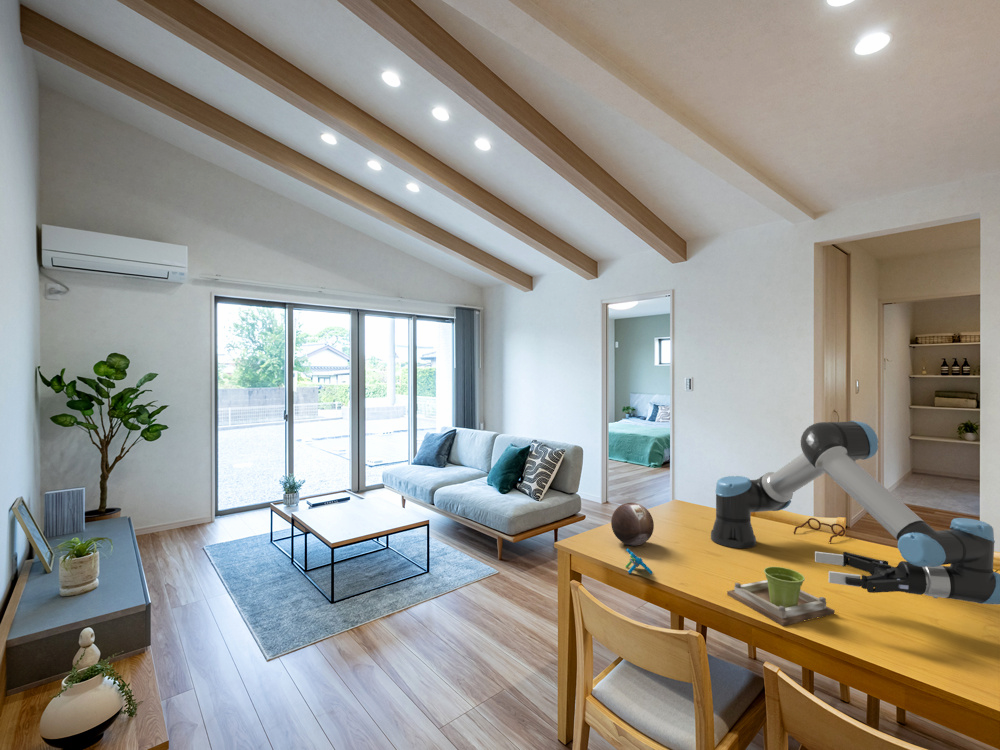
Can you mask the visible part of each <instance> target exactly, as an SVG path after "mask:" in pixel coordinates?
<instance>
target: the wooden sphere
mask: <svg viewBox="0 0 1000 750" xmlns="http://www.w3.org/2000/svg"><path fill="white" fill-rule="evenodd" d="M610 523H611V526H610V527H611V530H612V532H613V534H614V535H615V537H616V538H617V539H618V540H619V541H620V542H622V544H625V545H628V546H633V547H635V546H640V545H644V544H645V543H647V541H649V540H650V538H651V537H652V535H653V532H654V529H655V527H654V526H655V525H654V519H653V516H652V514H651V513H650V511H649V510H648V509H647V508H646V507H645V506H643V505H641V504H639V503H636V502H626V503H623V504H621V505H619V506H617V508H616V509H615V510H614V511H613V513H612V515H611V521H610Z"/></svg>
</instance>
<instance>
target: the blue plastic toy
mask: <svg viewBox="0 0 1000 750" xmlns="http://www.w3.org/2000/svg"><path fill="white" fill-rule="evenodd" d="M625 551H626V552H627V553H628V554H629V555H630V556H629V557H630V558H629V561H628V562H627V564H626V565H625V568H627V567H628V568H629V567H630V566H631V565H632V564H633V565H632V566H631V567H630V569H628V570H627V572H628V573H629V574H632V573H633V572H634V570H636V568H638V567H639V566H641V567H642V568H644V570H645V571H647V572H648V573H649V574H650V575H653V573H654V572H653V571H652V569H651V568H649V567H648V566H647V564H646V563H645V562H644V561H643V559H642V558H641V557H639V556H637V554H635V552H633V551H632V550H631V549H630V548H626V549H625Z"/></svg>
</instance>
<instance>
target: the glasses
mask: <svg viewBox="0 0 1000 750" xmlns="http://www.w3.org/2000/svg"><path fill="white" fill-rule="evenodd" d="M810 521H815V522H817V523H818V528H817V527H813V525H811V523H810ZM806 525H808V527H809V528H810V529H811V530H815V531H818V530H820V529H821V527H822V525H823V526H827V527H829V528H830V530H831V532H832V533H833V535H831V536H830V537H829V541H828V543H829V542H831V543H832V540H833V539H834V538H837V537H843V536H844V535H845V534H846V529H845V527H844V526H843V525H842V524H839V523H833V524H828V523H824V522H820V520H818V519H817V518H814V517H810V518H809V519H808V520H806V521H805V522H804V523H802V524H801V525H797V526H795V527H794V529H793V533H795V534H796V532H797V530H798V529H799V528H800V529H801V528H803V527H804V526H806ZM834 526H838V527H840V528H841V530H839V531H838V532H837V533H836V531H835V529H834Z"/></svg>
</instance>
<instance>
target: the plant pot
mask: <svg viewBox="0 0 1000 750" xmlns="http://www.w3.org/2000/svg"><path fill="white" fill-rule="evenodd" d="M763 573H764V574H765V577H766V580H767V581H768V588H769V596H770V603H772V604H774V605H776V606H778V607H779V606H784V607H785V608H787V607H792V606H796V605H797V604H798V599H799V593H800V590H801V587H802V586H803V583H804V582H805V579H806V578H805V576H804V575H803V574H802V573H800V572H799V571H797V570H794V569H791V568H788V567H787V568H786V567H783V566H767V567H765V568H764V569H763Z"/></svg>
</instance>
